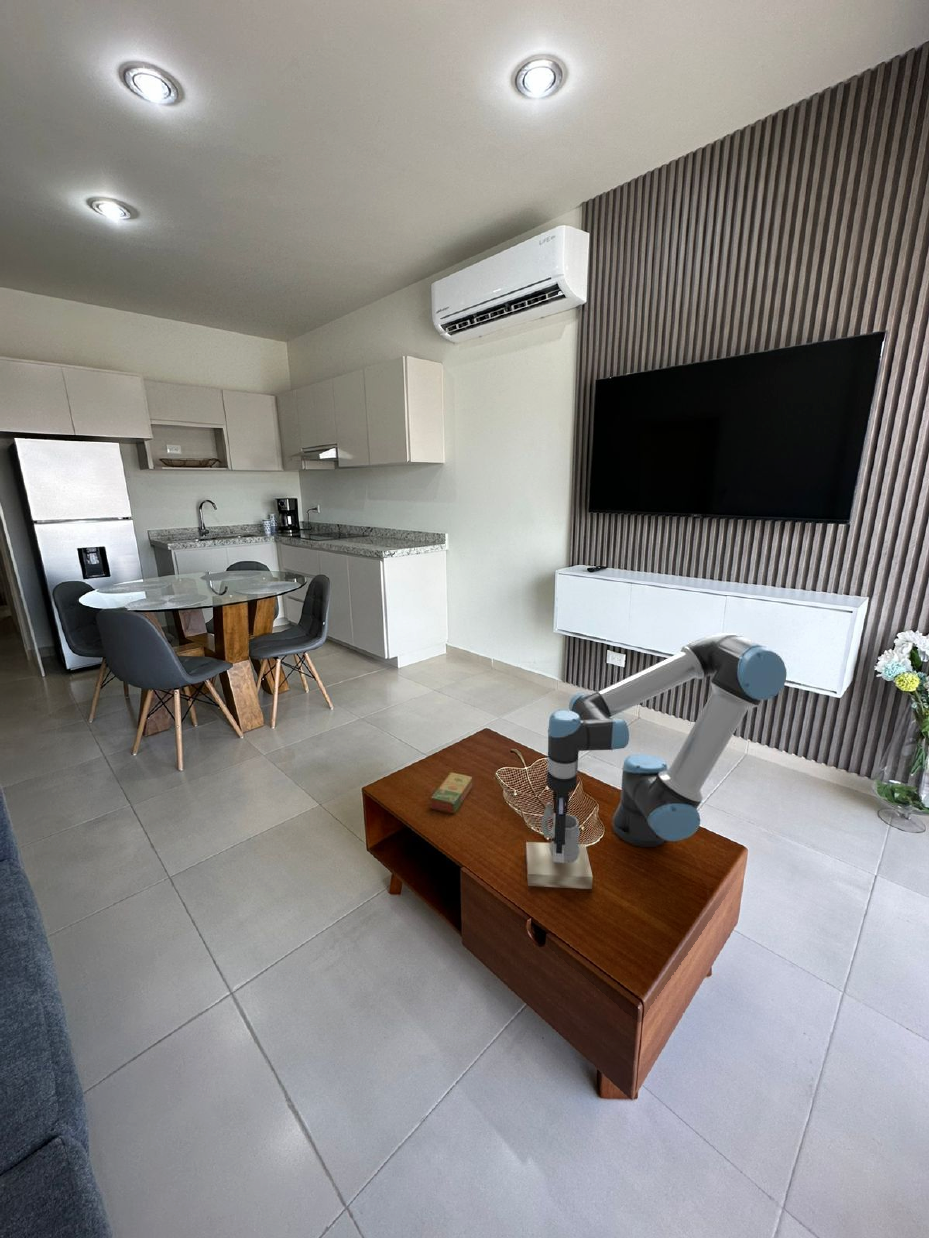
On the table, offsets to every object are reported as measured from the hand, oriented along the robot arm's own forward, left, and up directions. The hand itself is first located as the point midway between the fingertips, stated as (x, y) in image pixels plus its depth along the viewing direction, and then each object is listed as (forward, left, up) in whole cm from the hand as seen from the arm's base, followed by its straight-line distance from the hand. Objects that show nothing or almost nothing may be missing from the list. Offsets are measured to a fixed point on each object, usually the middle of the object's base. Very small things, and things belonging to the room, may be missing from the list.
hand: (558, 848), depth 133 cm
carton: (+34, -27, -7) cm, 44 cm away
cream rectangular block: (0, 0, -7) cm, 7 cm away
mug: (0, -1, -1) cm, 1 cm away
